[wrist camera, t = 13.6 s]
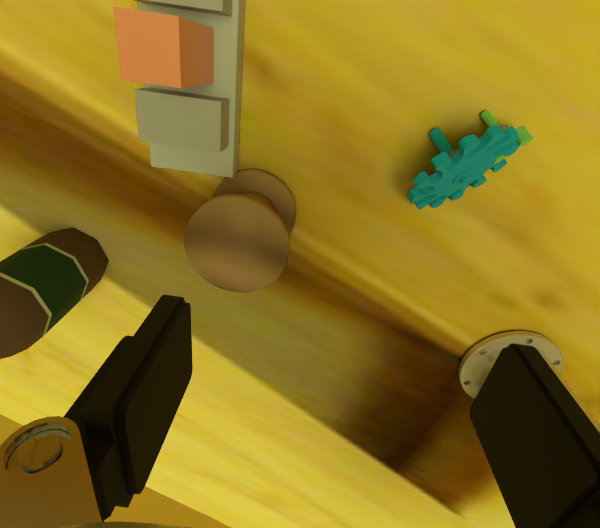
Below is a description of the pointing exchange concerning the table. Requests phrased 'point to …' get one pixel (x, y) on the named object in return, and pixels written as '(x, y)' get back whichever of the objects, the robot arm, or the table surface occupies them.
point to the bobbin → (242, 232)
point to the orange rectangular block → (164, 49)
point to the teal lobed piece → (465, 162)
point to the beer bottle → (45, 285)
